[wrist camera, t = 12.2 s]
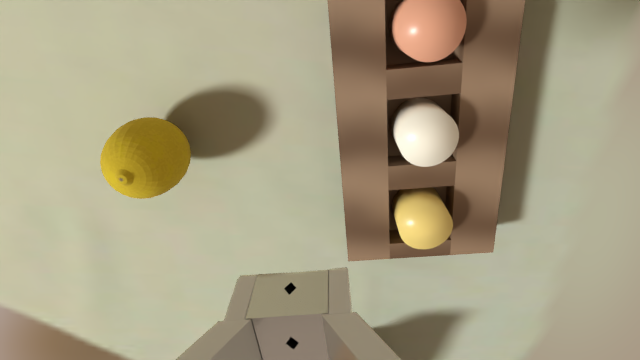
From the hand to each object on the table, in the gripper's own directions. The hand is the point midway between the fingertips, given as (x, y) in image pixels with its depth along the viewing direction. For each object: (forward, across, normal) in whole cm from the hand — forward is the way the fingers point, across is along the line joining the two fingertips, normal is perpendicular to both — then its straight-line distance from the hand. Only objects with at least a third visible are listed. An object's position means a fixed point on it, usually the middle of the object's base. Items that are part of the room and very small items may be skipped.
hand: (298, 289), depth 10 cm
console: (+21, -7, +2) cm, 22 cm away
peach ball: (+19, -7, -5) cm, 21 cm away
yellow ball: (+19, -7, +9) cm, 22 cm away
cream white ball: (+19, -7, +2) cm, 21 cm away
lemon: (+21, +13, +2) cm, 25 cm away
